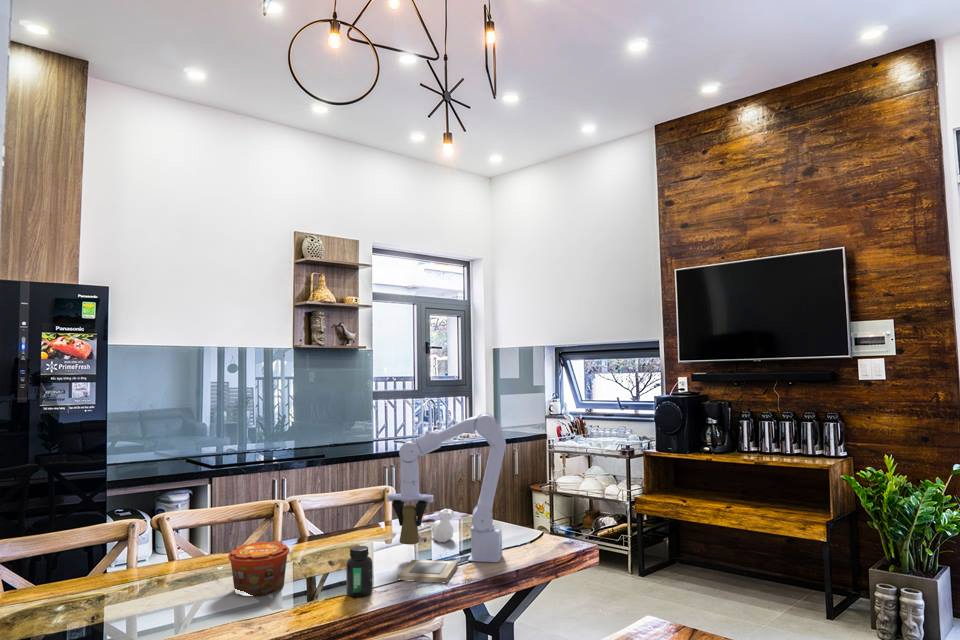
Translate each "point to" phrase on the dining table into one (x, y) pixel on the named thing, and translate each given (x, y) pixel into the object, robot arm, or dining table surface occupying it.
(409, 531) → the cork
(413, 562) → the base board
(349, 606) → the dining table surface
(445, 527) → the bust
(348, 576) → the supplement bottle
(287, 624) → the dining table surface
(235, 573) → the food container
